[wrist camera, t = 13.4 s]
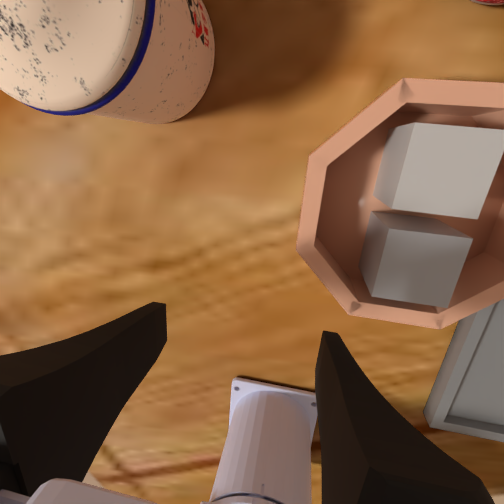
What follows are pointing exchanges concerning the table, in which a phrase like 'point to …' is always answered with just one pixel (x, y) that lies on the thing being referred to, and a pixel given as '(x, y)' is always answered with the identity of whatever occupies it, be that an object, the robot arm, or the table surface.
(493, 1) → the soda can
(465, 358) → the tray
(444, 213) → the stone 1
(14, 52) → the teacup with lid
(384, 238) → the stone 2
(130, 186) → the table surface
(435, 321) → the bowl
